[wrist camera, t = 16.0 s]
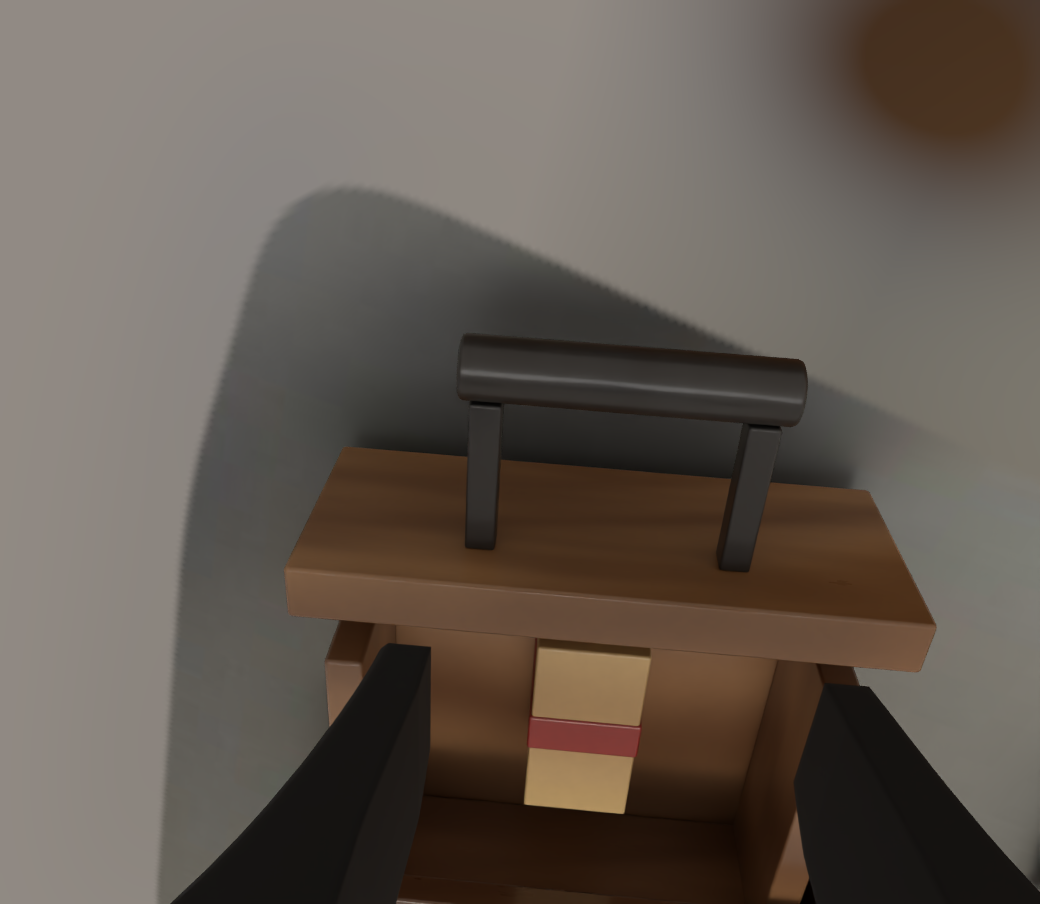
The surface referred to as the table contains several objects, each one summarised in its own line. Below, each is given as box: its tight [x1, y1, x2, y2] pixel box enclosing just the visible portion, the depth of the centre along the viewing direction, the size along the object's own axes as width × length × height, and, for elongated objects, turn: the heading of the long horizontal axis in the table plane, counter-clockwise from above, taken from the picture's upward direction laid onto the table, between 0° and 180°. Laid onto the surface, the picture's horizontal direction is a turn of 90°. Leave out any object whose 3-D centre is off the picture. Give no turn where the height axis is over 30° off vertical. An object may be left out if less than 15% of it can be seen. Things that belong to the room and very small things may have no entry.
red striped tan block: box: [524, 638, 652, 814], centre depth 21 cm, size 5×2×3 cm, turn 177°
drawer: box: [284, 333, 936, 904], centre depth 20 cm, size 16×12×5 cm
